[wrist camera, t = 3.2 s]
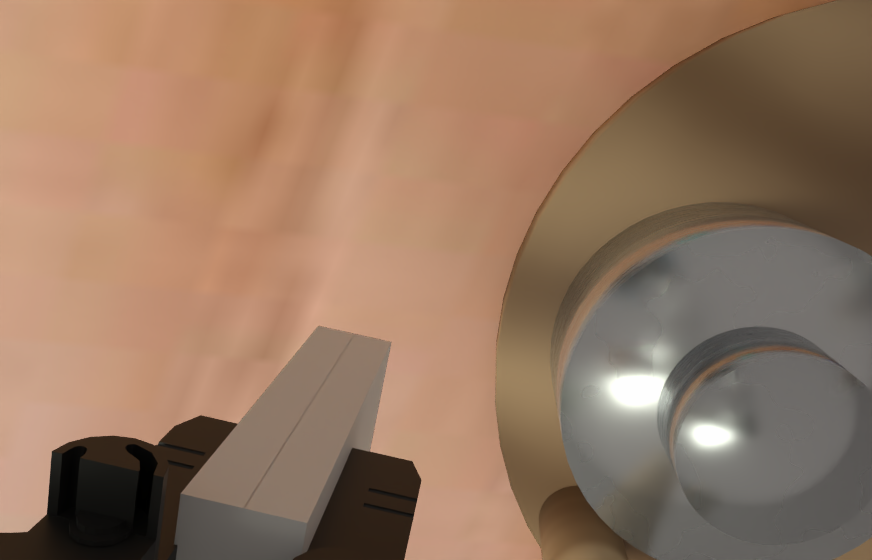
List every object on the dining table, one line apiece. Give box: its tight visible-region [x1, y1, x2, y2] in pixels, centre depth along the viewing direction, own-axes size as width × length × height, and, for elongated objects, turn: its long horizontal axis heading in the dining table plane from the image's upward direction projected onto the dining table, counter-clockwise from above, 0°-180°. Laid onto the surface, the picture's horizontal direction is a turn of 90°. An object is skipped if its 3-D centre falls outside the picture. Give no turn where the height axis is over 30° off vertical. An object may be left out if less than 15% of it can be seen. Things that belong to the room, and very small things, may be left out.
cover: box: [550, 202, 872, 560], centre depth 19 cm, size 9×9×6 cm
